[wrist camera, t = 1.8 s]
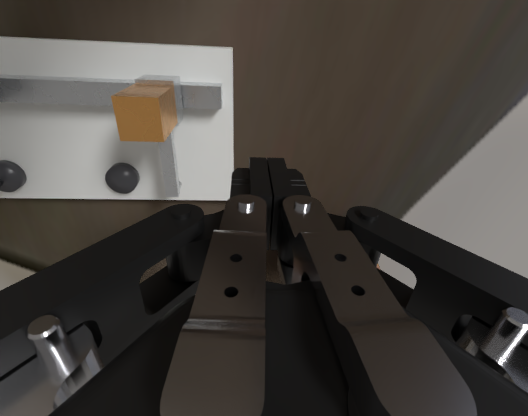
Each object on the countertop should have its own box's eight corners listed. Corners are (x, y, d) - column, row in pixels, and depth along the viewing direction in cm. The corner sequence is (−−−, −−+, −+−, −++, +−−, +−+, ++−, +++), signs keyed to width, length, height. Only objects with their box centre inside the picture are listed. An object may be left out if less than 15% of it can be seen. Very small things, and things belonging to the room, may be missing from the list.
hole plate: (-85, 32, 26) (-116, 32, 24) (232, 47, 28) (231, 49, 26) (-8, 191, 35) (-26, 203, 32) (234, 194, 37) (233, 205, 34)
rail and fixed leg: (-75, 61, 26) (-230, 78, 18) (222, 74, 28) (212, 94, 20) (-18, 177, 32) (-114, 232, 24) (224, 181, 34) (218, 234, 25)
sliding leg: (146, 73, 26) (109, 91, 19) (180, 75, 26) (157, 92, 19) (163, 188, 32) (139, 233, 25) (191, 188, 32) (176, 233, 25)
